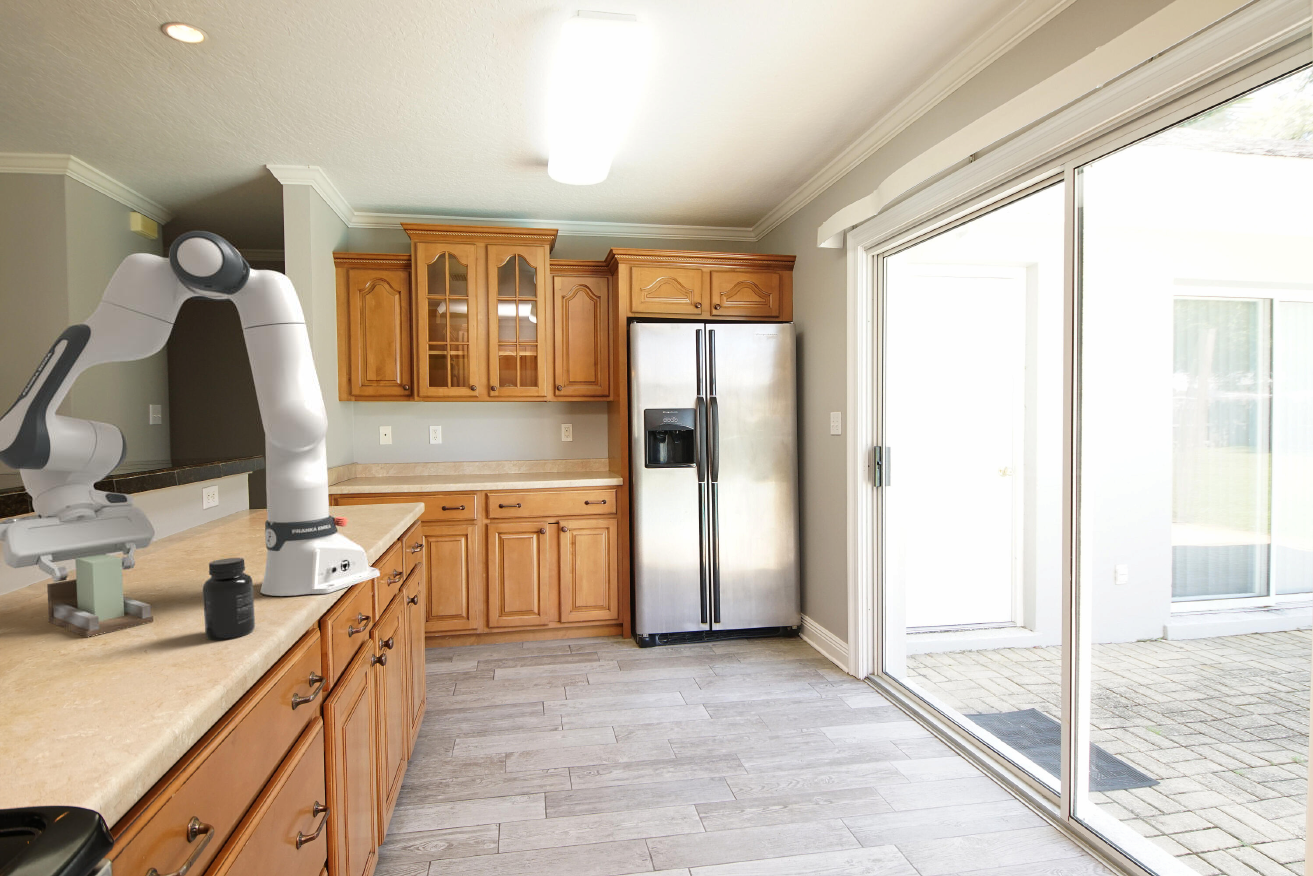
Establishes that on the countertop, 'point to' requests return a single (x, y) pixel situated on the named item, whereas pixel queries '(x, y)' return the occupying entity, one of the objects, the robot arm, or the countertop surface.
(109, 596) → the pale green block
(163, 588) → the countertop surface
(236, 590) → the supplement bottle
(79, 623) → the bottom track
